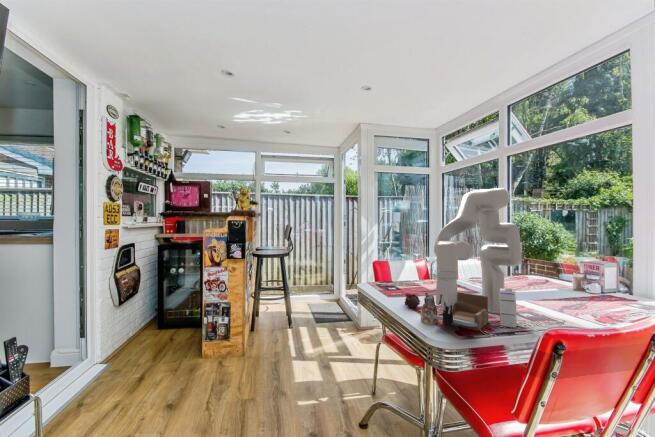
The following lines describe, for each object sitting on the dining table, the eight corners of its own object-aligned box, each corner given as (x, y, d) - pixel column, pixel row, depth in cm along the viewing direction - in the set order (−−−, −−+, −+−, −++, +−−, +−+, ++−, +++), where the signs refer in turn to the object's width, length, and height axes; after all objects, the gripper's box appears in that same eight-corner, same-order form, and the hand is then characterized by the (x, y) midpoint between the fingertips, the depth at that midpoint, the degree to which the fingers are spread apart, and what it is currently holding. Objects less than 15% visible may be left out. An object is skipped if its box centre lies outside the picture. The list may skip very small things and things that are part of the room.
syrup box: (516, 328, 118) (516, 292, 118) (499, 325, 121) (499, 290, 121) (516, 323, 123) (515, 289, 123) (500, 321, 126) (499, 287, 126)
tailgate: (442, 315, 124) (432, 315, 118) (477, 323, 115) (469, 323, 108) (441, 320, 124) (431, 320, 117) (477, 328, 114) (468, 328, 107)
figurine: (424, 324, 123) (424, 295, 123) (418, 318, 130) (417, 291, 130) (440, 324, 123) (440, 295, 123) (433, 318, 130) (433, 291, 131)
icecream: (427, 298, 141) (413, 293, 156) (413, 294, 140) (400, 290, 155) (425, 312, 140) (411, 306, 155) (411, 309, 139) (398, 303, 154)
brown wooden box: (454, 315, 135) (454, 291, 135) (488, 322, 125) (487, 296, 125) (442, 322, 125) (442, 297, 125) (477, 331, 115) (477, 303, 115)
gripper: (445, 271, 119) (445, 316, 119) (429, 276, 109) (429, 325, 108) (464, 273, 114) (465, 320, 114) (449, 278, 103) (450, 330, 103)
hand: (447, 322), depth 111 cm, fingers closed
